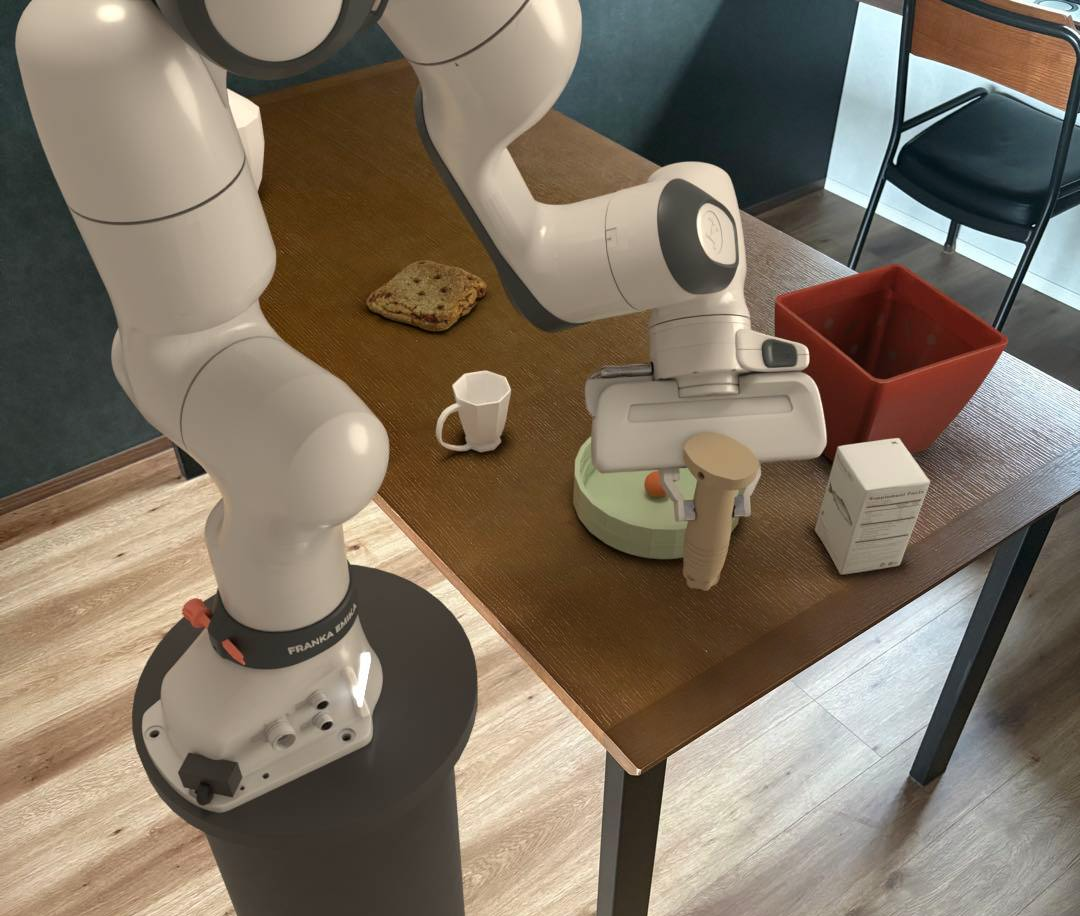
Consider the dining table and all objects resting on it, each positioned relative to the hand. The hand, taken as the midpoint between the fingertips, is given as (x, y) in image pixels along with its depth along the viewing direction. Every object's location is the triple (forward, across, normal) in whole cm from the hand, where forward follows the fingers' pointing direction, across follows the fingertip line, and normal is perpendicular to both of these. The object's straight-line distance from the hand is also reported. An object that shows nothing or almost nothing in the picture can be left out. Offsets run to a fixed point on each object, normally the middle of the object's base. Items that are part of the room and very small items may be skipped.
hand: (713, 519), depth 93 cm
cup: (-11, -19, +40) cm, 46 cm away
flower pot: (-10, +29, +38) cm, 49 cm away
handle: (+6, 0, +6) cm, 9 cm away
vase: (-58, -53, +87) cm, 117 cm away
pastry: (-34, -23, +63) cm, 76 cm away
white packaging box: (+4, +22, +24) cm, 33 cm away
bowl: (-3, +2, +31) cm, 31 cm away
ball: (-5, +2, +30) cm, 31 cm away
